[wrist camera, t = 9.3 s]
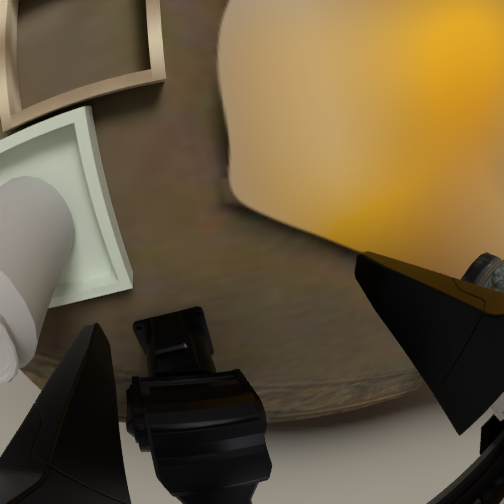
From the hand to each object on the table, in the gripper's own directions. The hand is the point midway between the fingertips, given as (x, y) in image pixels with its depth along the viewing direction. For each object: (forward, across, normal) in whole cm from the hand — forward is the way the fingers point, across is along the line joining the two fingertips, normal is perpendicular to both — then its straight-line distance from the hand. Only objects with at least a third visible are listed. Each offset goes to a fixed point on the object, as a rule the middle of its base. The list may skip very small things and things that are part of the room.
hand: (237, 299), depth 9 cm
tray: (+13, +12, 0) cm, 18 cm away
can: (+13, +12, 0) cm, 17 cm away
